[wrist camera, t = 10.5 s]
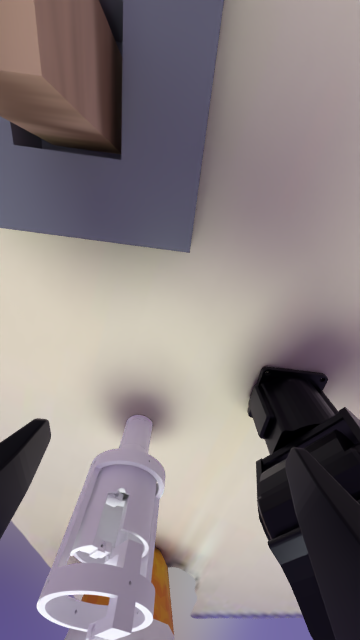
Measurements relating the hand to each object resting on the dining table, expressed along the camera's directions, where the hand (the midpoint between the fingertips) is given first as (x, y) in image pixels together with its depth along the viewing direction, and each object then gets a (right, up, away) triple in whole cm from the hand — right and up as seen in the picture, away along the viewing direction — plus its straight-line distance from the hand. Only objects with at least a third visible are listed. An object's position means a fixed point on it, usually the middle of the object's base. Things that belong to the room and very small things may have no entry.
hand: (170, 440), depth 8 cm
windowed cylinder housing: (-4, -8, +18) cm, 20 cm away
